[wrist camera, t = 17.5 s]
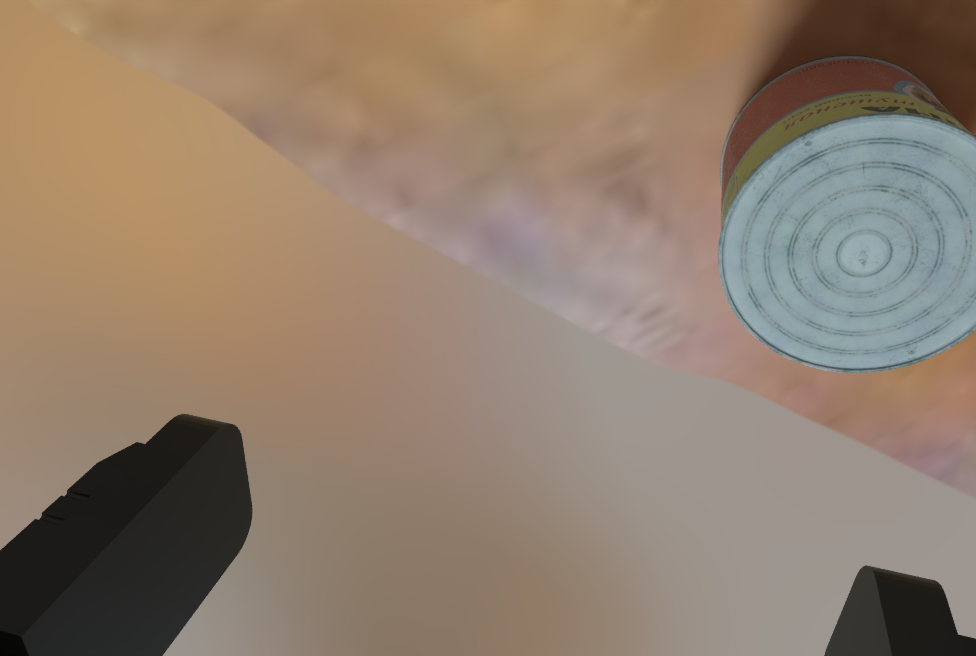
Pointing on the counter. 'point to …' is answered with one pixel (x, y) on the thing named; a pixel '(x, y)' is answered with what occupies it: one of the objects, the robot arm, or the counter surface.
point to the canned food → (850, 218)
